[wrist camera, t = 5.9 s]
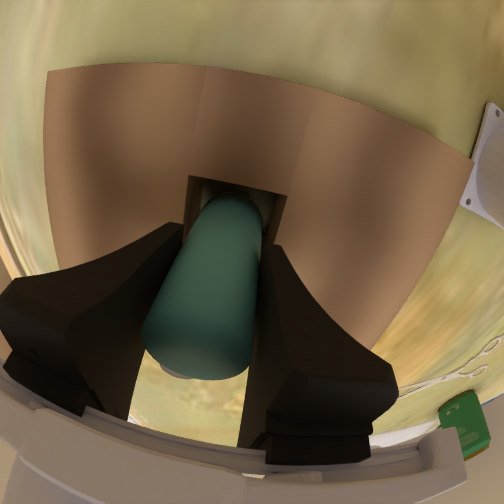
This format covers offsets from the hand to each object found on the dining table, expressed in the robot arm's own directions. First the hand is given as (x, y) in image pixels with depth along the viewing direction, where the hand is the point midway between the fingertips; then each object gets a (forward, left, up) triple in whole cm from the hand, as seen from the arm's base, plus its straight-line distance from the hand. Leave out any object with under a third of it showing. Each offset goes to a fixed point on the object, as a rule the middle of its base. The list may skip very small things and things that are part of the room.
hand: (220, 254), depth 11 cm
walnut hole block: (0, 0, -6) cm, 6 cm away
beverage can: (-43, +25, -6) cm, 50 cm away
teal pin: (0, 0, -3) cm, 4 cm away
